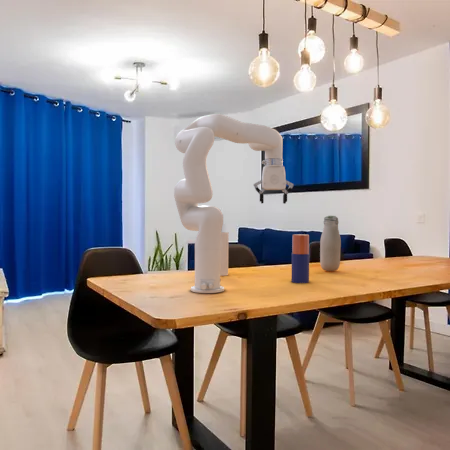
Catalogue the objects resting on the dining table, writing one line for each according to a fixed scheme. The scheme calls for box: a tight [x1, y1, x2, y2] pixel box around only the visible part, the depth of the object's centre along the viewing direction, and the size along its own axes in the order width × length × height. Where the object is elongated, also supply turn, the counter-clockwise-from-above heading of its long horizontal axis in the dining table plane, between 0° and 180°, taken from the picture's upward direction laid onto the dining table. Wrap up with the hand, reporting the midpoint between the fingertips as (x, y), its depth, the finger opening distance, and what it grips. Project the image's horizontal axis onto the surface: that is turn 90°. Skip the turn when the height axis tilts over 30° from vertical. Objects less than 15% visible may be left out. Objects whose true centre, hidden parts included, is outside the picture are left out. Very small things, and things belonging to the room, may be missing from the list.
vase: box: [220, 231, 229, 277], centre depth 208 cm, size 11×7×20 cm, turn 20°
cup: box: [291, 233, 310, 255], centre depth 185 cm, size 7×7×8 cm
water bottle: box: [291, 252, 310, 284], centre depth 185 cm, size 7×7×16 cm
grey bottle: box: [319, 215, 342, 272], centre depth 219 cm, size 10×10×28 cm
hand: (273, 203), depth 189 cm, fingers open, 9 cm apart
